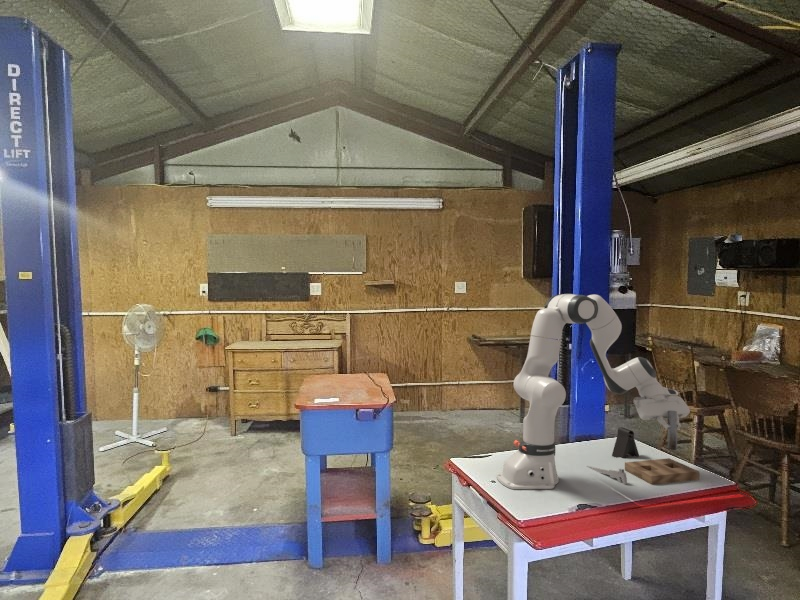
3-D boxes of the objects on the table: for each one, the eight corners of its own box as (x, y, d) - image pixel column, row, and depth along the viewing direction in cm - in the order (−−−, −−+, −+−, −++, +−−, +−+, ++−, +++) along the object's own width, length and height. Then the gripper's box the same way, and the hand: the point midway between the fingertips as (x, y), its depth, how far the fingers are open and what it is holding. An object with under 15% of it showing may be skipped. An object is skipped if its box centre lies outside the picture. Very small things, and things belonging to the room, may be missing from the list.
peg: (672, 450, 175) (671, 412, 174) (665, 447, 178) (665, 410, 177) (678, 449, 175) (678, 412, 175) (672, 446, 178) (672, 410, 178)
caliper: (627, 488, 167) (627, 470, 167) (624, 488, 167) (624, 470, 166) (586, 468, 186) (585, 452, 186) (583, 468, 186) (583, 452, 186)
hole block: (651, 487, 166) (651, 476, 166) (624, 472, 180) (624, 462, 180) (699, 482, 171) (699, 471, 171) (669, 468, 184) (669, 458, 184)
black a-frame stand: (629, 453, 201) (629, 426, 201) (639, 458, 196) (639, 429, 196) (611, 456, 199) (611, 427, 199) (622, 460, 193) (622, 431, 193)
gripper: (635, 393, 181) (653, 425, 171) (680, 390, 185) (701, 421, 176) (627, 402, 185) (645, 434, 176) (671, 399, 189) (691, 430, 180)
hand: (673, 427), depth 176 cm, fingers closed on peg, 3 cm apart
